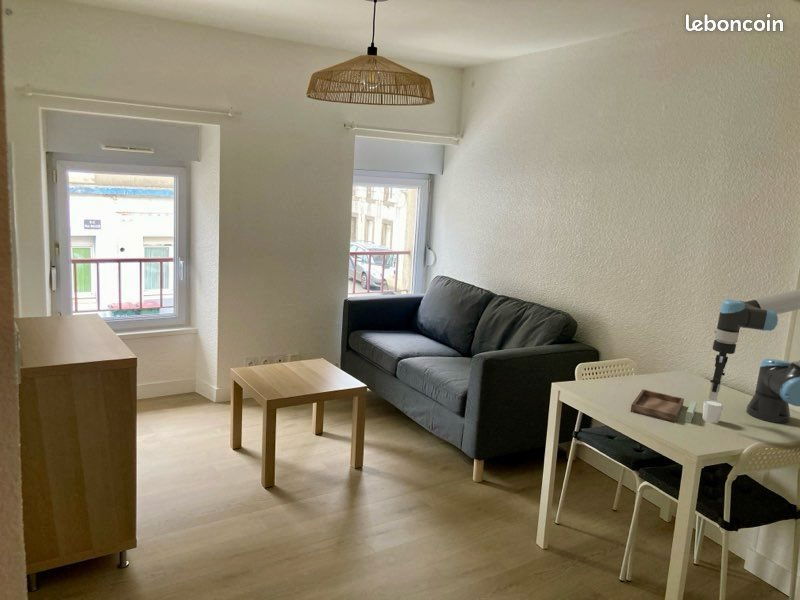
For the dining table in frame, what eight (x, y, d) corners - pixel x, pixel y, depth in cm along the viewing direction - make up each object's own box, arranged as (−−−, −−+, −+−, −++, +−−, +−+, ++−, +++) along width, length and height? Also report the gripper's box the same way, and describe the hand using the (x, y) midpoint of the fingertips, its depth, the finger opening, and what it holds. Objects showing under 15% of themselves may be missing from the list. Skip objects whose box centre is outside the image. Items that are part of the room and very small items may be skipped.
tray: (682, 405, 260) (684, 398, 259) (674, 422, 239) (676, 414, 239) (641, 396, 267) (642, 389, 267) (630, 411, 247) (631, 404, 246)
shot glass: (722, 425, 241) (725, 407, 240) (702, 422, 242) (706, 404, 241) (717, 418, 248) (720, 401, 246) (698, 416, 249) (701, 398, 248)
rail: (695, 411, 254) (696, 401, 253) (690, 423, 240) (692, 412, 239) (689, 410, 255) (691, 400, 254) (684, 421, 241) (686, 411, 240)
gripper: (716, 333, 252) (706, 385, 256) (711, 344, 230) (699, 401, 234) (738, 338, 248) (726, 390, 252) (734, 349, 227) (722, 406, 231)
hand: (713, 395), depth 243 cm, fingers open, 13 cm apart
